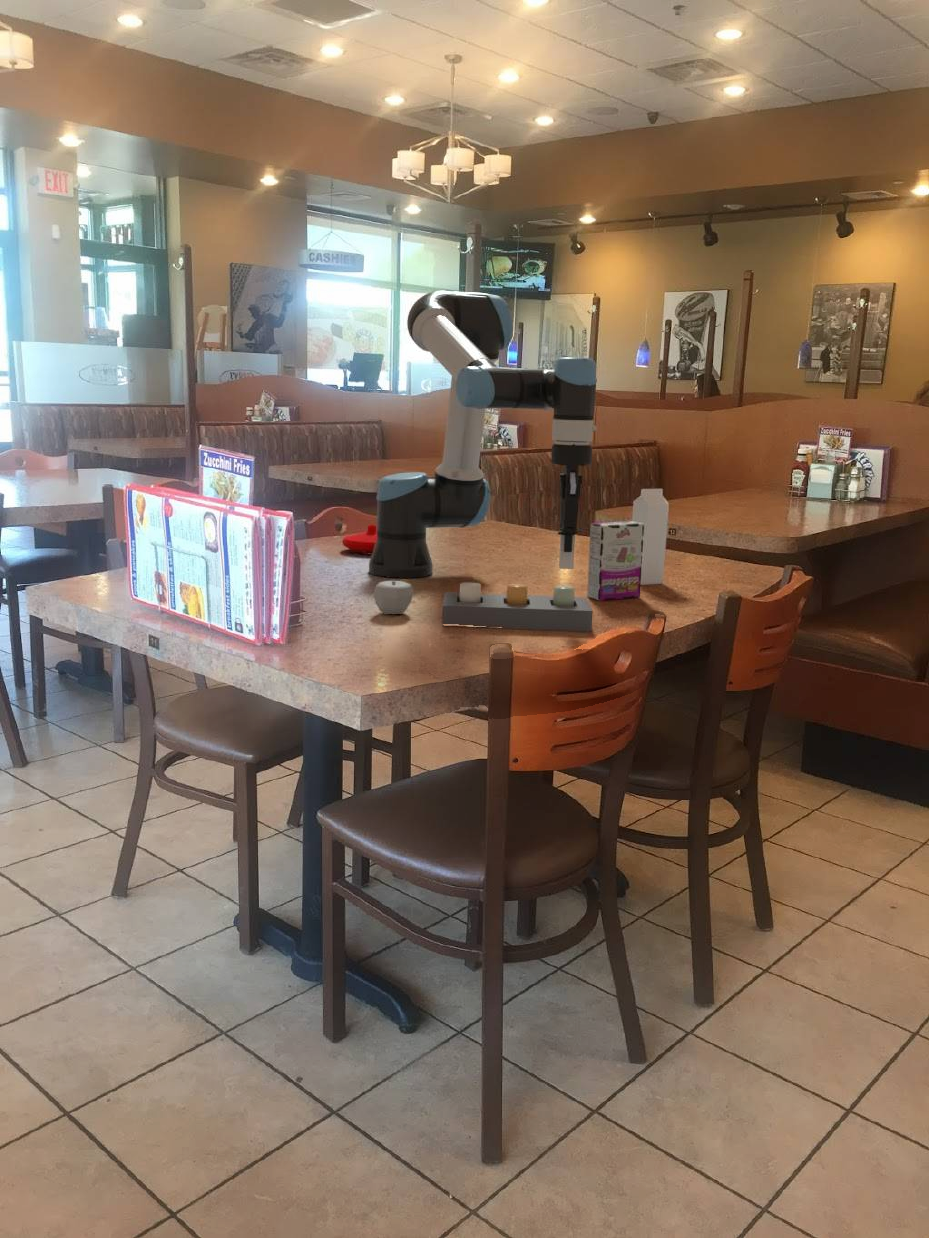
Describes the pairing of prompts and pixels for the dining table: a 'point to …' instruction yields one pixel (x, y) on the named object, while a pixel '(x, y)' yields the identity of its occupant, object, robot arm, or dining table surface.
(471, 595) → the button ivory
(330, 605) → the dining table surface
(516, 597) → the button amber
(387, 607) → the apple
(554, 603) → the button sage
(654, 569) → the milk
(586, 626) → the block
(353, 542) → the red disc with nozzle
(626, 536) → the candy bar box
